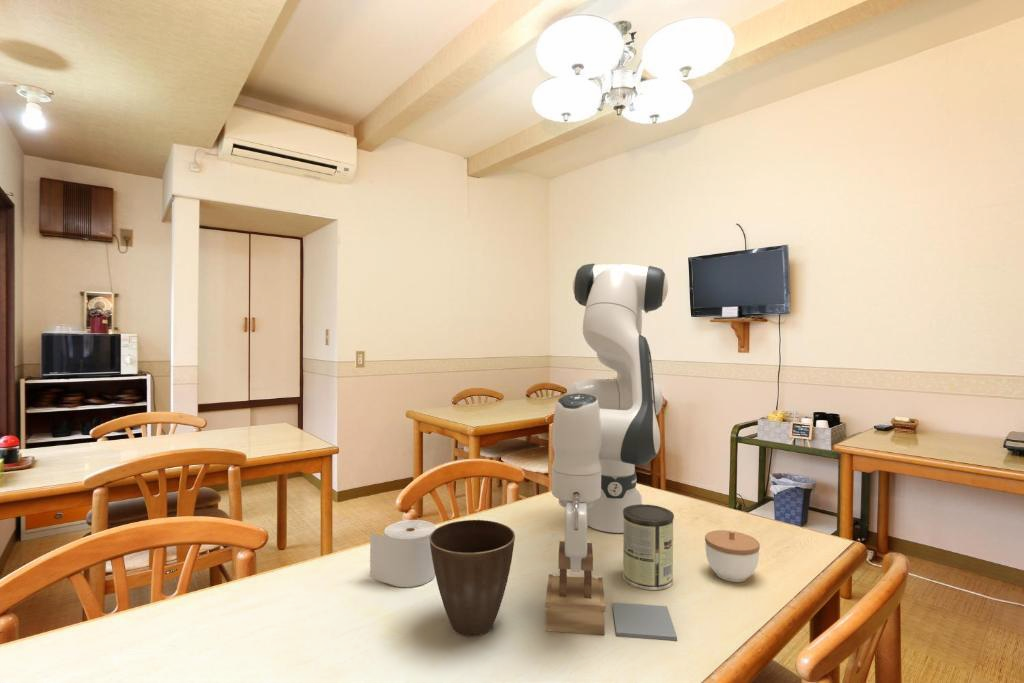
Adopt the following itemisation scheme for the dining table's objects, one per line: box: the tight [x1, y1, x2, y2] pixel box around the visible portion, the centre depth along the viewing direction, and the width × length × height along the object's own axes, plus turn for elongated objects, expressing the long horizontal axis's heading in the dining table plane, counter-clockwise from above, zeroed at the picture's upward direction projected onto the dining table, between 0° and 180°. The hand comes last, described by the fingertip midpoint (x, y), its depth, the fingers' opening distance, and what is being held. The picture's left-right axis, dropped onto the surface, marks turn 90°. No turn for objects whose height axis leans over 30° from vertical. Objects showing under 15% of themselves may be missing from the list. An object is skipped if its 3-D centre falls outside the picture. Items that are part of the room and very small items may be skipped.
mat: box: [611, 602, 678, 641], centre depth 94 cm, size 10×10×1 cm
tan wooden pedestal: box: [545, 573, 606, 636], centre depth 95 cm, size 10×10×5 cm
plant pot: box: [429, 519, 516, 637], centre depth 92 cm, size 15×15×16 cm
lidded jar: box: [704, 529, 760, 583], centre depth 112 cm, size 11×11×9 cm
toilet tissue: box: [369, 519, 437, 588], centre depth 110 cm, size 11×12×10 cm
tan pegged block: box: [557, 540, 594, 599], centre depth 95 cm, size 6×6×8 cm
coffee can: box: [622, 503, 675, 591], centre depth 110 cm, size 10×10×14 cm
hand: (575, 561), depth 95 cm, fingers closed on tan pegged block, 6 cm apart
